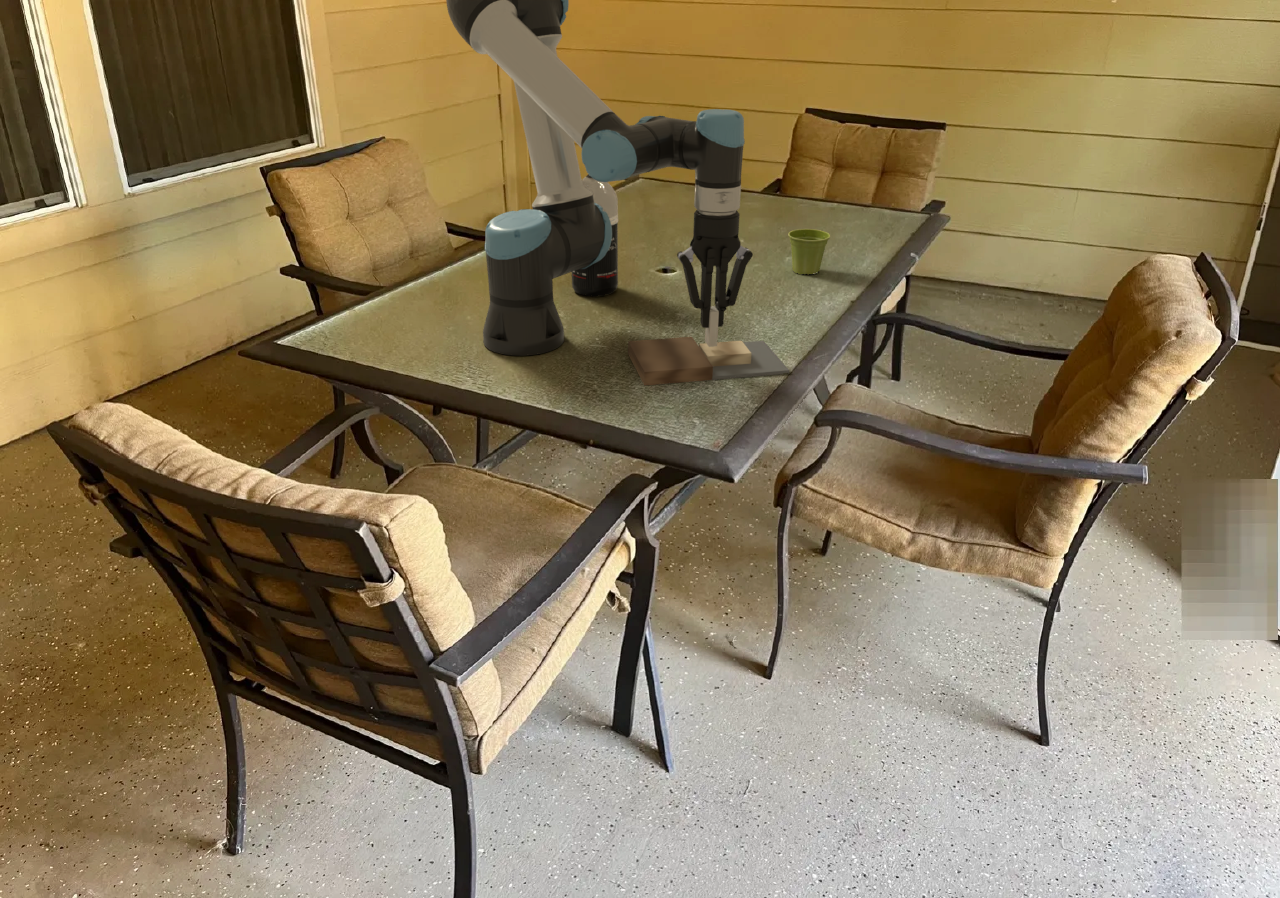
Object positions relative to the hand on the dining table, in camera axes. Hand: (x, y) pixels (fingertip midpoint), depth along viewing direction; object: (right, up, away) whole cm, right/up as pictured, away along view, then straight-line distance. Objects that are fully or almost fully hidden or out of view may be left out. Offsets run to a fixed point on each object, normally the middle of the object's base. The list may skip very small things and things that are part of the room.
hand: (711, 343), depth 161 cm
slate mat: (+5, -3, +3) cm, 7 cm away
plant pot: (+26, +22, +49) cm, 60 cm away
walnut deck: (-7, -4, +1) cm, 9 cm away
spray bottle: (-22, +16, +36) cm, 45 cm away
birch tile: (+3, -2, +2) cm, 4 cm away
